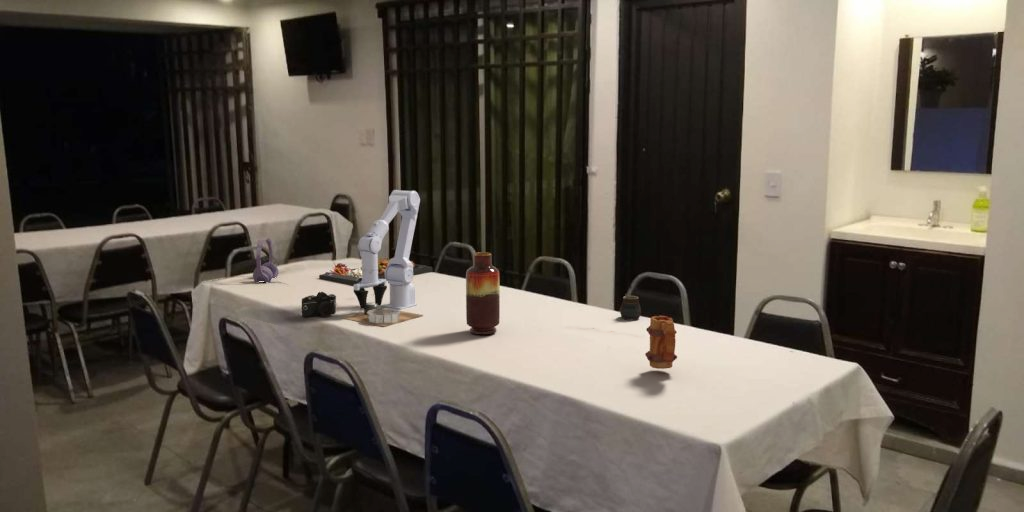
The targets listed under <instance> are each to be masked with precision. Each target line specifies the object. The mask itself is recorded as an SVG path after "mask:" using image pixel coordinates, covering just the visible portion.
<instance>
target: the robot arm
mask: <svg viewBox="0 0 1024 512" xmlns="http://www.w3.org/2000/svg"><path fill="white" fill-rule="evenodd" d="M420 203H421V198H420V195H419V193H418V192H417V191H416V190H399V189H393V190H392V191H391V193H390V195H389V197H388V204H387V205H386V206H387V207H386V208H385V209H384V212H383V213H382V215H381V217H380V218H379V219H378V220H375V221H373V223H372V225H371V227H370V229H369V230H368V231H367V233H366V234H365V236H362V237H361V238H360V239H359V240H358V243H357V250H358V251H359V256H360V257H361V267H362V281H361V282H360V283H357V284H354V286H353V293H354V295H355V296H356V298H357V301H358V305H359V307H360V309H361V310H364V309H366V303H367V297H368V293H369V290H366V289H368V288H372V290H373V293H374V303H378V306H382V302H383V298H384V295H385V293H386V291H387V289H388V286H387V284H389V304H386V305H384V307H385V308H392V309H397V310H403V309H407V308H411V307H416V306H417V305H418V304H417V303H416V289H415V286H414V284H413V283H412V281H413V279H414V276H413V264H412V263H411V262H410V261H411V260H410V255H411V249H412V244H413V238H414V233H415V229H416V225H417V219H418V213H419V207H420ZM398 213H399V214H400V215H401V222H400V228H399V233H398V238H397V243H396V248H395V253H394V256H393V257H392V259H391V258H390V259H391V260H390V259H389V260H390V261H389V262H388V266H387V268H386V270H385V278H386V279H378V259H379V258H378V257H379V256H378V253H379V252H380V251H381V249H382V243H383V240H384V238H385V236H386V235H387V233H388V231H389V230H390V229H389V224H390V223H391V222H392V221H393V219H394V218H395V216H396V215H397V214H398ZM401 266H404V267H401ZM386 280H387V281H386Z"/></svg>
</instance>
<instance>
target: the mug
mask: <svg viewBox="0 0 1024 512" xmlns="http://www.w3.org/2000/svg"><path fill="white" fill-rule="evenodd" d="M645 330H646V332H647V333H648V335H649V350H648V351H647V352H646V353H645V357H646V359H647V360H648V361H649V367H651V368H653V369H662V370H663V369H671V368H672V367H673V363H674V361H676V360H677V358H678V355H677V354H675V350H676V341H677V340H676V334H677V330H676V329H675V323H674V320H673V318H672V317H669V316H666V315H658V316H657V315H654V316H651V317H650V324H649V326H648V327H647V328H646V329H645Z"/></svg>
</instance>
